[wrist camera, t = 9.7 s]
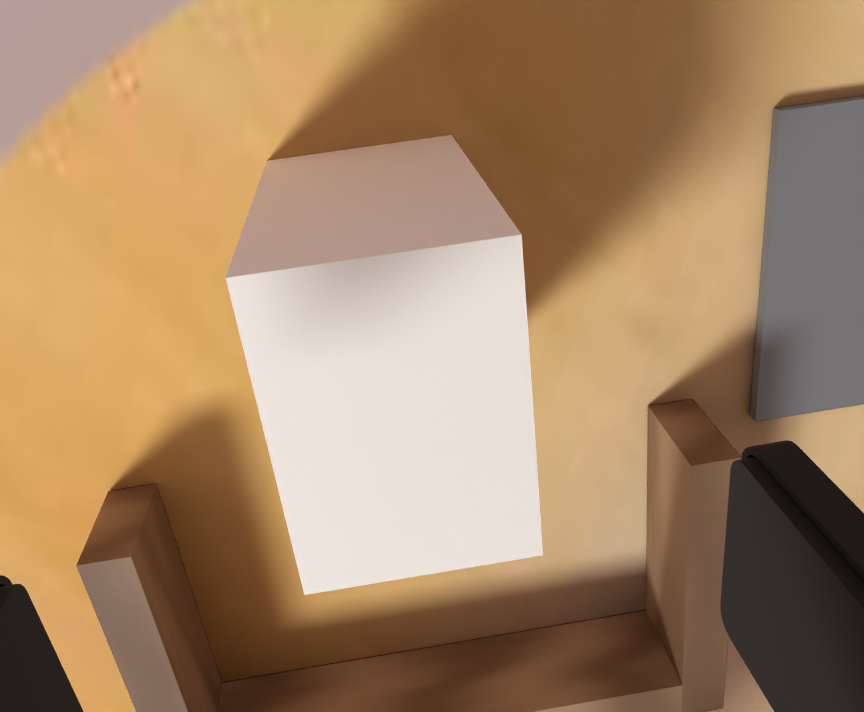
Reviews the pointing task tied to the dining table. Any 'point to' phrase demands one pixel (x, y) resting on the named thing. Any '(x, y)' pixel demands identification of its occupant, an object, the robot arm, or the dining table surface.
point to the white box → (390, 362)
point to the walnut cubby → (459, 662)
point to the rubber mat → (812, 263)
